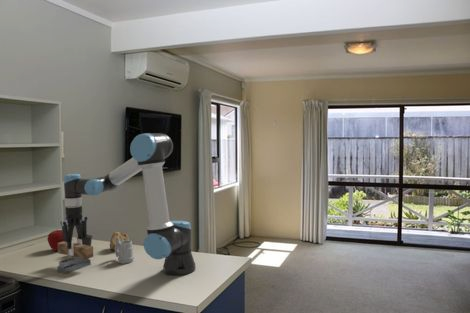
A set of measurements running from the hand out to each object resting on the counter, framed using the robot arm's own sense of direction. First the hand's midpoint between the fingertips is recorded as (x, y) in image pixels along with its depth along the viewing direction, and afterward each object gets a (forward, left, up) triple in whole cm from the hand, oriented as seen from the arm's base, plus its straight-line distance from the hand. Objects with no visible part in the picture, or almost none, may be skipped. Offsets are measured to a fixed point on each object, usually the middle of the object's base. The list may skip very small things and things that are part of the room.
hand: (75, 253), depth 187 cm
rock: (+4, -31, -7) cm, 32 cm away
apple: (+34, -14, -7) cm, 37 cm away
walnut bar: (0, 0, -1) cm, 1 cm away
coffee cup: (+15, -17, -7) cm, 24 cm away
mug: (-13, -18, -7) cm, 23 cm away
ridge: (0, +1, -7) cm, 7 cm away
